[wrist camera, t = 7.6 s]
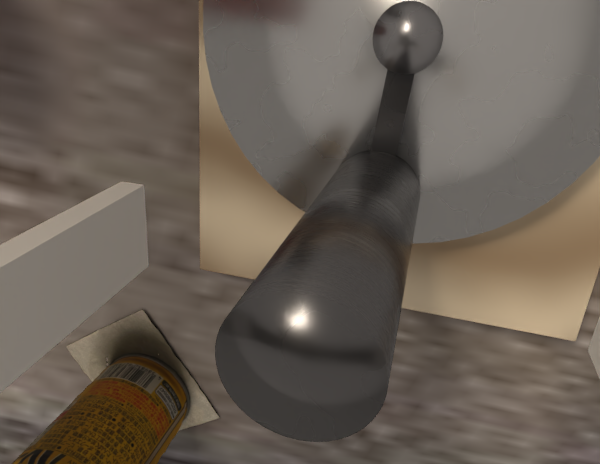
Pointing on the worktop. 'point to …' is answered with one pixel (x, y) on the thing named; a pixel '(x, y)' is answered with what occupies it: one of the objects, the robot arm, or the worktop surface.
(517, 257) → the dial board
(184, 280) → the worktop surface
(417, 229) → the dial
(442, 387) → the worktop surface
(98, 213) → the robot arm
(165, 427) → the condiment
